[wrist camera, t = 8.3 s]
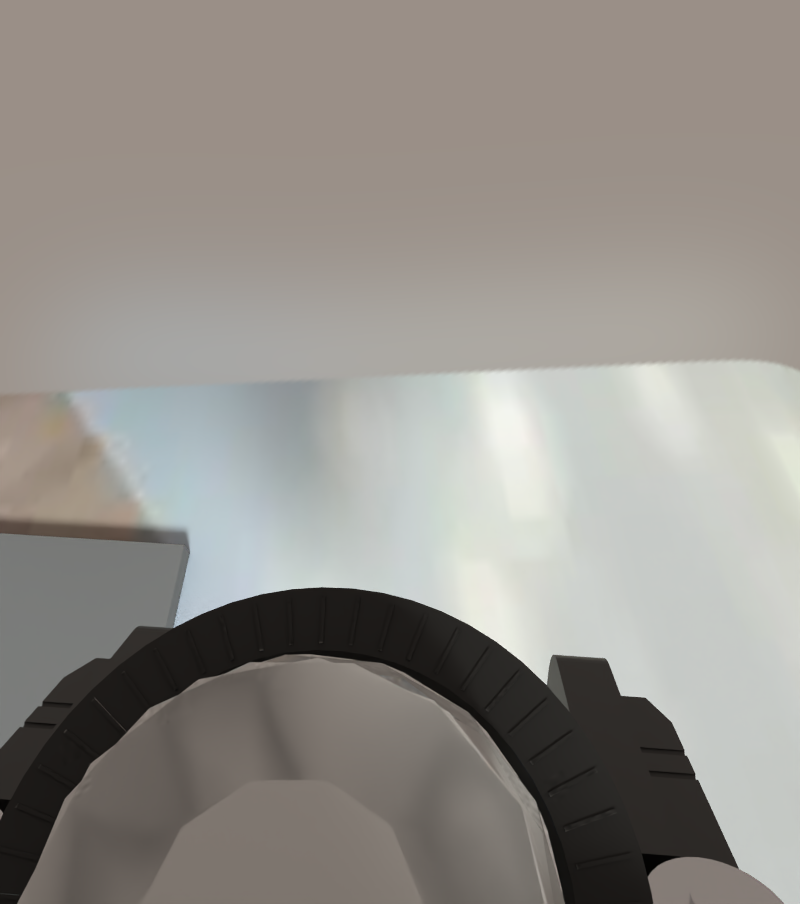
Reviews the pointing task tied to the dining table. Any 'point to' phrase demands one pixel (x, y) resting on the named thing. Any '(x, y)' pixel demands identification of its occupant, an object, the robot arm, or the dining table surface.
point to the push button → (320, 771)
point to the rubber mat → (74, 609)
